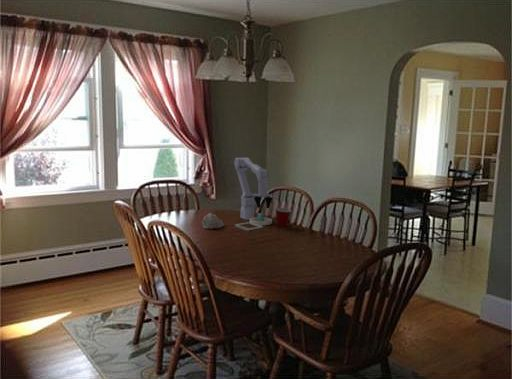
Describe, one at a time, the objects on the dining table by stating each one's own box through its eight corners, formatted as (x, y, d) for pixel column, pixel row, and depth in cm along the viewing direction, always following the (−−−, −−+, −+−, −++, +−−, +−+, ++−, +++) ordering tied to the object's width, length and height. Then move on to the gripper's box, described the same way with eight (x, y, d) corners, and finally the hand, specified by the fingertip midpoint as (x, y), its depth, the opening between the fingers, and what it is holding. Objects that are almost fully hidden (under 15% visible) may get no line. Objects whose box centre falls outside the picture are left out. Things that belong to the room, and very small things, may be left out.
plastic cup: (291, 229, 302) (292, 210, 300) (274, 228, 302) (275, 210, 300) (290, 225, 313) (291, 207, 311) (274, 224, 313) (274, 207, 311)
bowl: (245, 223, 315) (245, 218, 315) (261, 220, 325) (261, 216, 324) (259, 227, 304) (260, 223, 304) (276, 224, 314) (276, 220, 314)
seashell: (226, 227, 304) (226, 212, 303) (209, 230, 294) (209, 215, 293) (213, 223, 313) (213, 209, 311) (197, 226, 303) (197, 211, 301)
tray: (234, 227, 304) (234, 224, 303) (248, 224, 312) (248, 222, 311) (248, 231, 293) (248, 228, 293) (262, 228, 301) (263, 226, 301)
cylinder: (256, 222, 315) (256, 213, 314) (260, 221, 317) (261, 213, 316) (260, 223, 312) (260, 214, 311) (264, 222, 314) (265, 214, 313)
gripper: (250, 187, 311) (251, 208, 312) (267, 188, 302) (268, 209, 303) (257, 187, 317) (257, 206, 318) (274, 187, 308) (274, 207, 309)
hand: (263, 208), depth 311 cm, fingers open, 7 cm apart
